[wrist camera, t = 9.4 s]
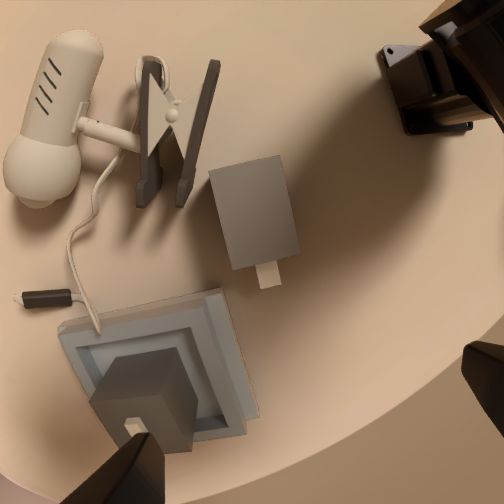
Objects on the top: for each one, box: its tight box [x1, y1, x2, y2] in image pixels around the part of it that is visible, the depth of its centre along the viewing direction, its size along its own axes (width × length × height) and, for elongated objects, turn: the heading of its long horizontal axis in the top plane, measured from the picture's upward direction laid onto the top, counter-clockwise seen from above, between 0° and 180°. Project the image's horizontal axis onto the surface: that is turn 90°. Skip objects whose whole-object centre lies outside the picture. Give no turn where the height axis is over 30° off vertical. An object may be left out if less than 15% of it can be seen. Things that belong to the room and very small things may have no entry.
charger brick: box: [89, 347, 199, 454], centre depth 16 cm, size 4×4×6 cm
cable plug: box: [208, 155, 301, 289], centre depth 17 cm, size 4×7×4 cm, turn 13°
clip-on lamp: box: [3, 30, 221, 335], centre depth 15 cm, size 12×6×18 cm
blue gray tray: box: [57, 287, 260, 442], centre depth 19 cm, size 12×10×3 cm
